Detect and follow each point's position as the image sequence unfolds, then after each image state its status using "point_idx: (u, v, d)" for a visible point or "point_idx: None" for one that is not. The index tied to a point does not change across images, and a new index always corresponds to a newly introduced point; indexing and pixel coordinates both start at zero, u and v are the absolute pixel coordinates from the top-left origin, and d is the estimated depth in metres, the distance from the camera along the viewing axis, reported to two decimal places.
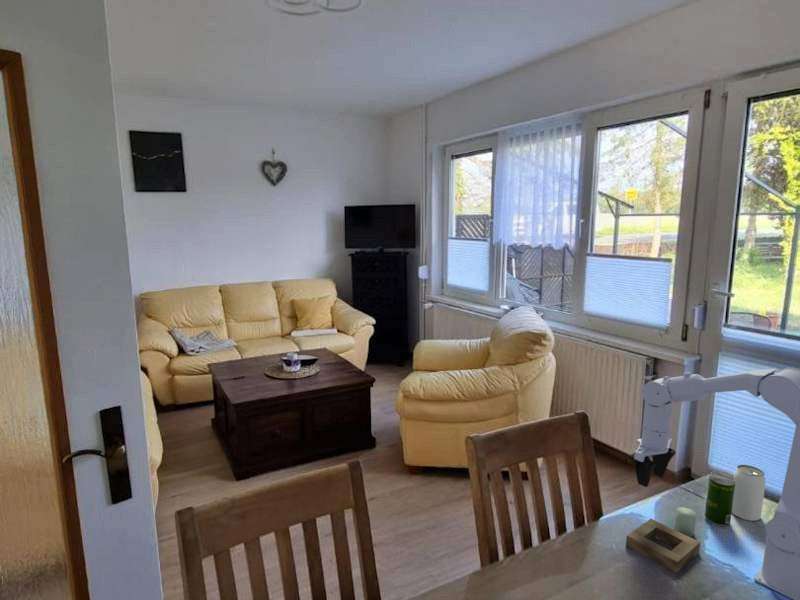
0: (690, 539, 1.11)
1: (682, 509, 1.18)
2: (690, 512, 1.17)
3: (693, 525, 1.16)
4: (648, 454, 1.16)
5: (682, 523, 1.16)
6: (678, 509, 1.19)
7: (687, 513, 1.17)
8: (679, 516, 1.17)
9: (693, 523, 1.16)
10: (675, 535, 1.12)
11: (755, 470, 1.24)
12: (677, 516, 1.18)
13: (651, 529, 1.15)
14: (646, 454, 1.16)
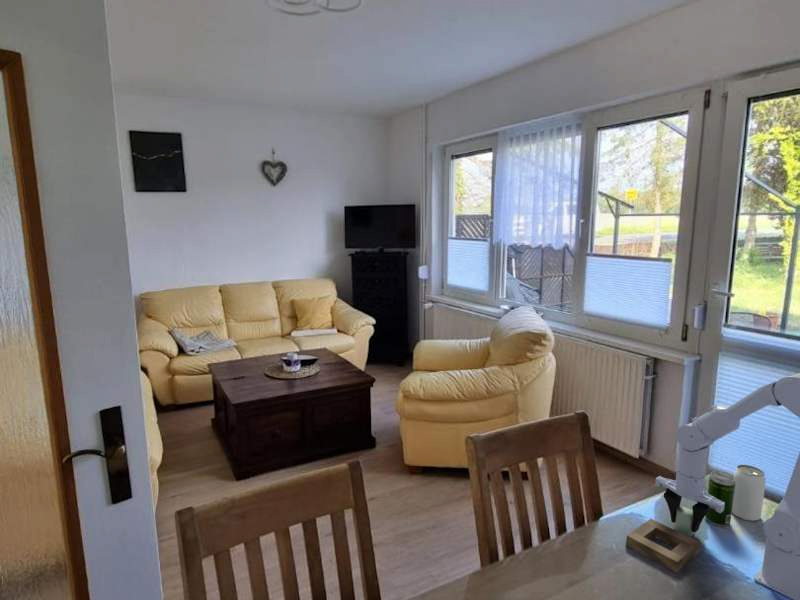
0: (690, 539, 1.11)
1: (682, 509, 1.18)
2: (690, 512, 1.17)
3: None
4: (663, 484, 1.20)
5: (682, 523, 1.16)
6: (678, 509, 1.19)
7: (687, 513, 1.17)
8: (679, 515, 1.17)
9: None
10: (675, 535, 1.12)
11: (755, 470, 1.24)
12: (677, 516, 1.18)
13: (651, 529, 1.15)
14: (660, 481, 1.21)
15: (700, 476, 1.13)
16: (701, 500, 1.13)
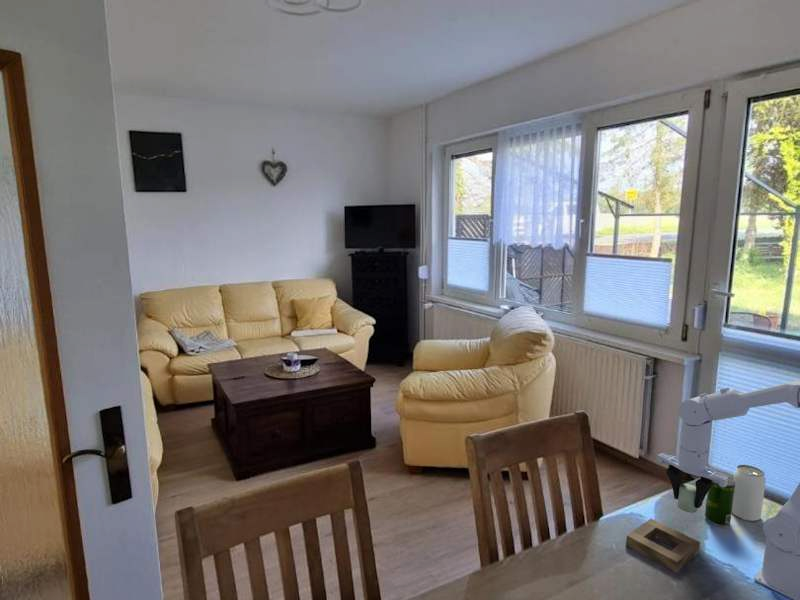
0: (690, 539, 1.11)
1: (685, 486, 1.17)
2: (693, 488, 1.16)
3: None
4: (665, 460, 1.19)
5: (685, 499, 1.15)
6: (681, 485, 1.18)
7: (690, 489, 1.16)
8: (682, 492, 1.16)
9: None
10: (675, 535, 1.12)
11: (755, 470, 1.24)
12: (680, 492, 1.17)
13: (651, 529, 1.15)
14: (663, 458, 1.20)
15: (703, 451, 1.12)
16: (704, 475, 1.12)
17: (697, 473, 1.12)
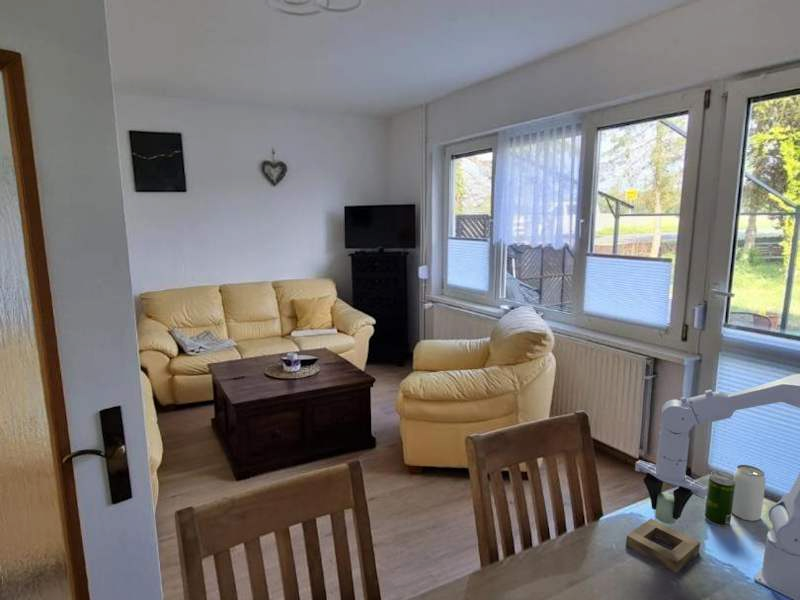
0: (690, 539, 1.11)
1: (663, 495, 1.11)
2: (672, 498, 1.10)
3: None
4: (643, 468, 1.12)
5: (663, 509, 1.09)
6: (659, 495, 1.11)
7: (669, 499, 1.09)
8: (660, 501, 1.09)
9: None
10: (675, 535, 1.12)
11: (755, 470, 1.24)
12: (658, 502, 1.10)
13: (651, 529, 1.15)
14: (640, 466, 1.13)
15: (686, 457, 1.06)
16: (683, 484, 1.05)
17: (675, 482, 1.06)
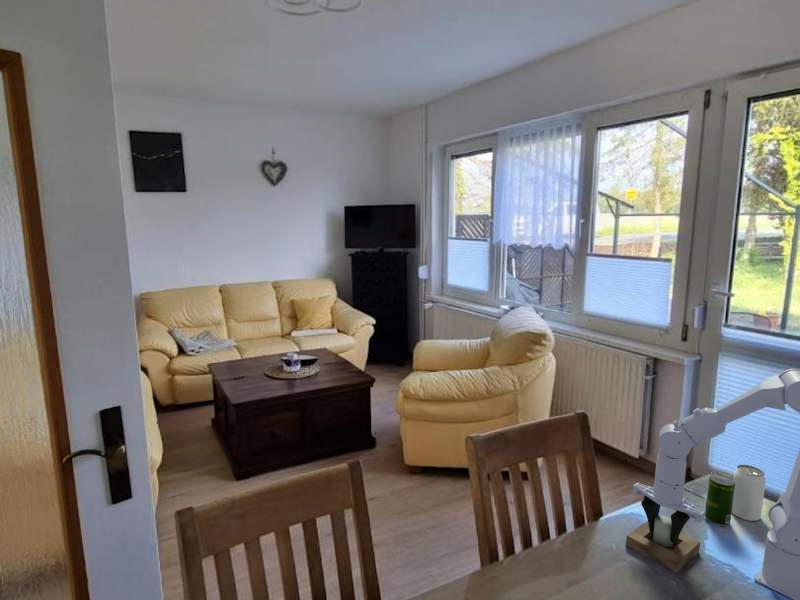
0: (690, 539, 1.11)
1: (661, 518, 1.11)
2: (669, 521, 1.10)
3: None
4: (640, 491, 1.13)
5: (660, 532, 1.10)
6: (656, 518, 1.12)
7: (666, 522, 1.10)
8: (658, 525, 1.10)
9: None
10: None
11: (755, 470, 1.24)
12: (655, 525, 1.11)
13: None
14: (638, 488, 1.14)
15: (683, 482, 1.07)
16: (680, 509, 1.06)
17: (672, 506, 1.07)
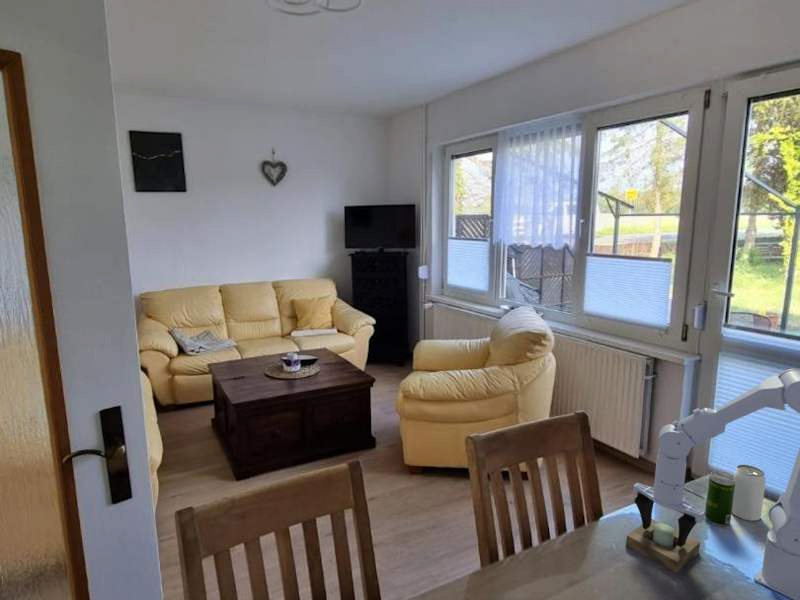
0: (690, 539, 1.11)
1: (660, 526, 1.12)
2: (669, 529, 1.11)
3: (671, 542, 1.09)
4: (640, 491, 1.13)
5: (660, 540, 1.10)
6: (656, 525, 1.12)
7: (665, 530, 1.10)
8: (657, 533, 1.10)
9: (671, 541, 1.09)
10: (675, 535, 1.12)
11: (755, 470, 1.24)
12: (654, 533, 1.11)
13: (651, 529, 1.15)
14: (638, 489, 1.14)
15: (683, 482, 1.07)
16: (680, 509, 1.06)
17: (672, 507, 1.07)
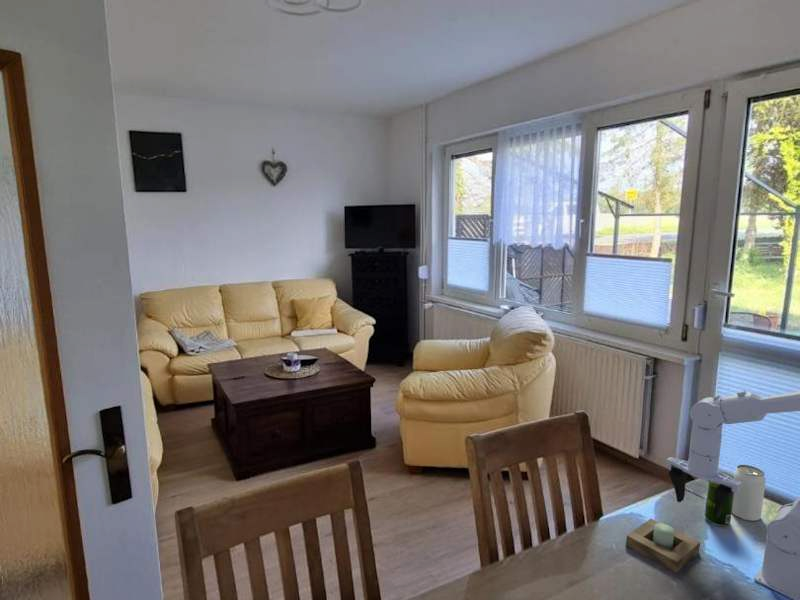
0: (690, 539, 1.11)
1: (660, 526, 1.12)
2: (669, 529, 1.11)
3: (671, 542, 1.09)
4: (674, 464, 1.14)
5: (660, 540, 1.10)
6: (656, 525, 1.12)
7: (665, 530, 1.10)
8: (657, 533, 1.10)
9: (671, 541, 1.09)
10: (675, 535, 1.12)
11: (755, 470, 1.24)
12: (655, 533, 1.11)
13: (651, 529, 1.15)
14: (672, 462, 1.15)
15: (716, 454, 1.08)
16: (716, 480, 1.07)
17: (708, 478, 1.08)
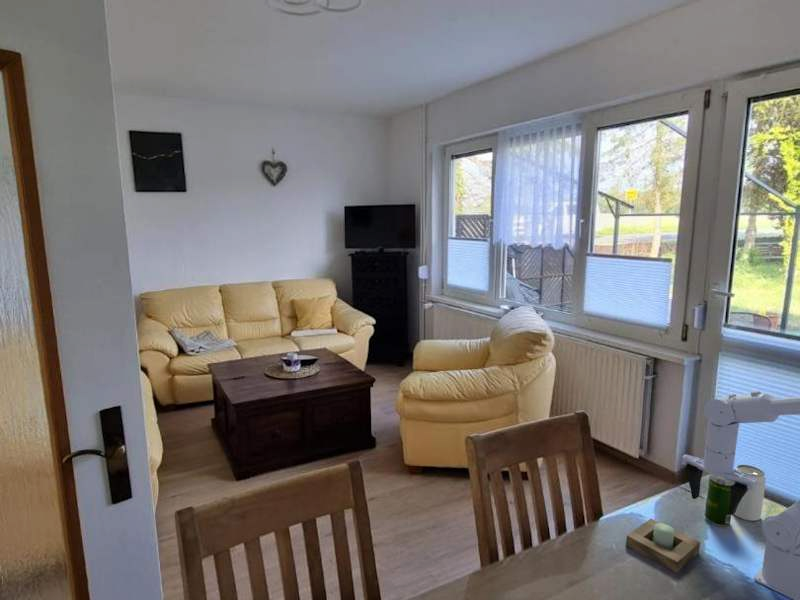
0: (690, 539, 1.11)
1: (660, 526, 1.12)
2: (669, 529, 1.11)
3: (671, 542, 1.09)
4: (690, 462, 1.16)
5: (660, 540, 1.10)
6: (656, 525, 1.12)
7: (665, 530, 1.10)
8: (657, 533, 1.10)
9: (671, 541, 1.09)
10: (675, 535, 1.12)
11: (755, 470, 1.24)
12: (654, 533, 1.11)
13: (651, 529, 1.15)
14: (687, 459, 1.16)
15: (729, 452, 1.09)
16: (732, 477, 1.08)
17: (724, 475, 1.09)
